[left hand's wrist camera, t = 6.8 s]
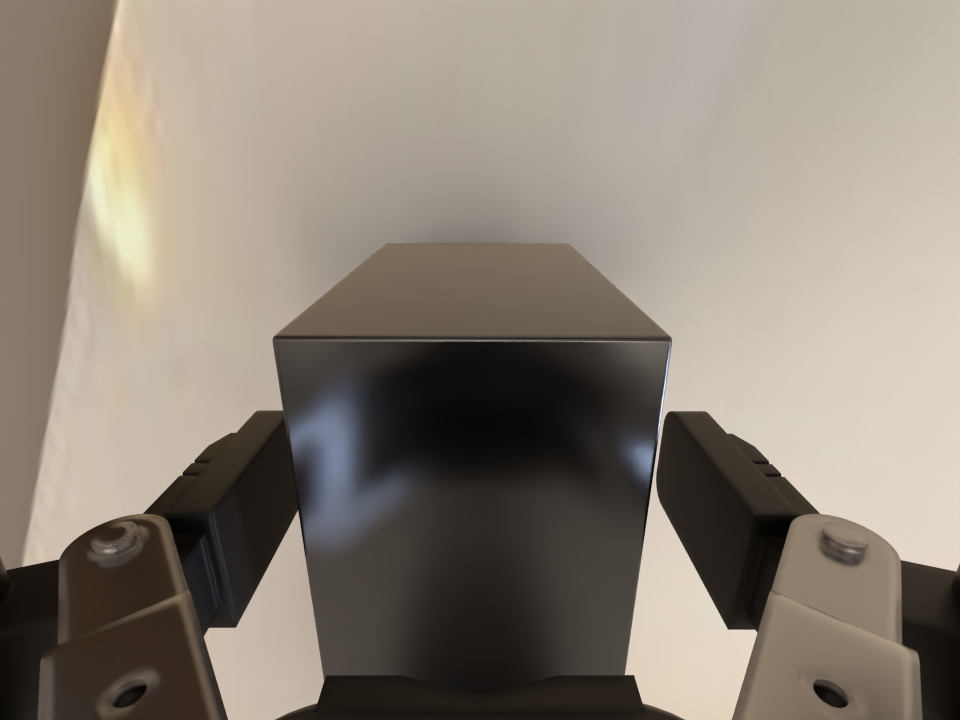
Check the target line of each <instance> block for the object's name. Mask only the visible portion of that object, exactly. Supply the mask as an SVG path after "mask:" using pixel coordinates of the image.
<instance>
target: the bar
mask: <svg viewBox="0 0 960 720" xmlns="http://www.w3.org/2000/svg"><path fill="white" fill-rule="evenodd" d="M671 345H672V339H671V337H670V336H669V335H668V334H667V333H666V332H665V331H664V330H663V329H662V328H661V327H659V326H658V325H657V324H656V323H655V322H654V321H653V320H652V319H651V318H650V317H648V316H647V315H646V314H645V313H644V312H643V311H642V310H641V309H640V308H639V307H637V306H636V305H635V304H634V303H633V302H632V301H631V300H630V299H629V298H627V297H626V296H625V295H624V294H623V293H622V292H621V291H620V290H619V289H618V288H616V287H615V286H614V285H613V284H612V283H611V282H610V281H609V280H608V279H607V278H605V277H604V276H603V275H602V274H601V273H600V272H599V271H598V270H597V269H596V268H594V267H593V266H592V265H591V264H590V263H589V262H588V261H587V260H586V259H585V258H583V257H582V256H581V255H580V254H579V253H578V252H577V251H576V250H575V249H574V248H572V247H571V246H570V245H569V244H385V245H384V246H383V247H382V248H380V249H379V250H378V251H377V252H376V253H374V254H373V255H372V256H371V257H370V258H368V259H367V260H366V261H365V262H363V263H362V264H361V265H360V266H359V267H357V268H356V269H355V270H354V271H353V272H351V273H350V274H349V275H348V276H346V277H345V278H344V279H343V280H342V281H340V282H339V283H338V284H337V285H336V286H334V287H333V288H332V289H331V290H329V291H328V292H327V293H326V294H325V295H323V296H322V297H321V298H320V299H319V300H317V301H316V302H315V303H314V304H312V305H311V306H310V307H309V308H308V309H306V310H305V311H304V312H303V313H302V314H300V315H299V316H298V317H297V318H295V319H294V320H293V321H292V322H291V323H289V324H288V325H287V326H286V327H285V328H283V329H282V330H281V331H280V332H278V333H277V334H276V335H275V336H274V337H273V346H274V353H275V359H276V366H277V372H278V379H279V386H280V392H281V399H282V405H283V412H284V418H285V425H286V432H287V438H288V445H289V451H290V458H291V465H292V471H293V478H294V484H295V491H296V497H297V504H298V511H299V517H300V524H301V530H302V537H303V544H304V550H305V557H306V563H307V570H308V576H309V583H310V590H311V596H312V603H313V609H314V616H315V623H316V629H317V636H318V642H319V649H320V655H321V662H322V669H323V675H324V681H325V677H326V675H402V676H406V677H410V678H414V679H418V680H422V681H425V682H429V683H433V684H437V685H441V686H445V687H448V688H452V689H456V690H460V691H464V692H468V693H472V694H488V693H492V692H496V691H500V690H504V689H508V688H511V687H515V686H519V685H523V684H527V683H531V682H535V681H538V680H542V679H546V678H550V677H554V676H558V675H625V669H626V662H627V655H628V648H629V641H630V634H631V626H632V619H633V612H634V605H635V598H636V591H637V584H638V577H639V570H640V563H641V556H642V549H643V542H644V535H645V528H646V521H647V514H648V507H649V500H650V493H651V486H652V479H653V472H654V465H655V458H656V451H657V444H658V437H659V430H660V422H661V415H662V408H663V401H664V394H665V387H666V380H667V373H668V366H669V359H670V352H671Z"/></svg>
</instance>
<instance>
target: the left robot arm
mask: <svg viewBox="0 0 960 720" xmlns="http://www.w3.org/2000/svg"><path fill="white" fill-rule="evenodd" d="M656 485H657V492H658V497H659V500H660V503H661V505H662V507H663V509H664V510H665V512H666V514H667V516H668V518H669V520H670V522H671V524H672V525H673V527H674V529H675V531H676V533H677V535H678V537H679V539H680V540H681V542H682V544H683V546H684V548H685V550H686V552H687V553H688V555H689V557H690V559H691V561H692V563H693V565H694V567H695V568H696V570H697V572H698V574H699V576H700V578H701V580H702V582H703V583H704V585H705V587H706V589H707V591H708V593H709V595H710V596H711V598H712V600H713V602H714V604H715V606H716V608H717V610H718V611H719V613H720V615H721V617H722V619H723V621H724V623H725V625H726V626H727V628H728V629H755V630H756V631H757V637H756V640H755V644H754V647H753V650H752V654H751V657H750V660H749V664H748V667H747V671H746V674H745V677H744V681H743V684H742V688H741V691H740V694H739V698H738V701H737V705H736V708H735V711H734V715H733V718H732V720H960V564H959V567H958V569H957V571H956V572H955V571H950V570H946V569H941V568H936V567H931V566H926V565H921V564H916V563H912V562H907V561H902V560H900V557H899V555H898V553H897V552H896V551H895V549H894V548H893V547H892V546H891V545H890V544H889V543H888V542H887V541H886V540H884V539H883V538H882V537H881V536H879V535H878V534H876V533H874V532H873V531H871V530H869V529H867V528H865V527H864V526H861V525H859V524H857V523H854V522H852V521H849V520H846V519H843V518H839V517H835V516H830V515H823V514H820V513H819V512H818V511H817V510H816V509H815V508H814V507H813V506H812V505H811V504H810V503H809V502H808V501H807V500H806V499H805V498H804V497H803V496H802V495H801V494H800V493H799V492H798V491H797V490H796V489H795V488H794V487H793V486H792V484H791V483H790V482H789V481H788V480H787V479H786V478H785V477H781V473H780V472H779V471H778V470H777V469H776V468H775V467H774V466H773V465H772V464H769V461H768V460H767V459H766V458H765V457H764V456H763V455H762V454H761V453H760V452H759V451H758V450H757V449H756V448H755V447H754V446H753V445H751V444H749V443H747V442H746V441H744V440H742V439H740V438H739V437H737V436H735V435H733V434H727V433H726V432H725V431H724V430H723V429H722V428H721V427H720V426H719V425H718V424H717V422H716V421H715V420H714V419H713V418H712V417H711V416H710V415H709V414H708V413H707V412H704V411H670V412H668V413H667V415H666V417H665V420H664V426H663V433H662V439H661V446H660V453H659V460H658V467H657V475H656ZM297 511H298V504H297V497H296V491H295V484H294V478H293V471H292V465H291V458H290V451H289V445H288V438H287V432H286V425H285V418H284V412H283V411H256V412H255V413H254V414H253V415H252V416H251V417H250V419H249V420H248V421H247V422H246V423H245V424H244V425H243V426H242V427H241V428H240V430H239V431H238V432H237V433H230V434H228V435H227V436H225V437H223V438H221V439H220V440H218V441H216V442H214V443H213V444H211V445H209V446H208V447H207V448H206V449H205V450H204V451H203V452H202V453H201V454H200V455H199V456H198V457H197V458H196V459H195V463H192V464H191V465H190V466H189V467H188V468H187V469H186V470H185V471H184V472H183V475H182V476H179V477H178V478H177V479H176V480H175V481H174V482H173V483H172V484H171V485H170V486H169V487H168V488H167V489H166V490H165V492H164V493H163V494H162V495H161V496H160V497H159V498H158V499H157V500H156V501H155V502H154V503H153V504H152V505H151V506H150V507H149V508H148V509H147V510H146V511H145V512H144V513H143V514H137V515H130V516H125V517H121V518H117V519H114V520H111V521H108V522H106V523H103V524H101V525H99V526H96V527H95V528H93V529H91V530H89V531H87V532H86V533H84V534H82V535H81V536H79V537H78V538H77V539H76V540H74V541H73V542H72V543H71V544H70V545H69V546H68V547H67V548H66V549H65V551H64V552H63V553H62V555H61V557H60V559H59V560H55V561H50V562H45V563H40V564H35V565H30V566H25V567H20V568H16V569H11V570H6V569H5V567H4V564H3V562H2V560H1V557H0V720H228V718H227V715H226V711H225V708H224V705H223V701H222V698H221V694H220V691H219V688H218V684H217V681H216V677H215V674H214V671H213V667H212V664H211V660H210V657H209V654H208V650H207V647H206V644H205V640H204V635H205V633H206V632H207V630H208V628H236V626H237V624H238V623H239V621H240V619H241V617H242V615H243V613H244V611H245V609H246V607H247V606H248V604H249V602H250V600H251V598H252V596H253V594H254V592H255V590H256V589H257V587H258V585H259V583H260V581H261V579H262V577H263V575H264V573H265V571H266V570H267V568H268V566H269V564H270V562H271V560H272V558H273V556H274V554H275V553H276V551H277V549H278V547H279V545H280V543H281V541H282V539H283V537H284V536H285V534H286V532H287V530H288V528H289V526H290V524H291V522H292V520H293V518H294V517H295V515H296V513H297ZM276 720H684V719H682V718H680V717H678V716H676V715H674V714H672V713H669V712H667V711H664V710H661V709H659V708H656V707H653V706H650V705H646V704H643V703H642V701H641V697H640V694H639V691H638V687H637V684H636V681H635V677H634V675H558V676H554V677H550V678H546V679H542V680H538V681H535V682H531V683H527V684H523V685H519V686H515V687H511V688H508V689H504V690H500V691H496V692H492V693H488V694H472V693H468V692H464V691H460V690H456V689H452V688H448V687H445V686H441V685H437V684H433V683H429V682H425V681H422V680H418V679H414V678H410V677H406V676H402V675H326V677H325V681H324V684H323V687H322V691H321V694H320V697H319V701H318V703H317V704H314V705H310V706H307V707H304V708H301V709H299V710H296V711H293V712H291V713H288V714H286V715H284V716H282V717H280V718H278V719H276Z"/></svg>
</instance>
